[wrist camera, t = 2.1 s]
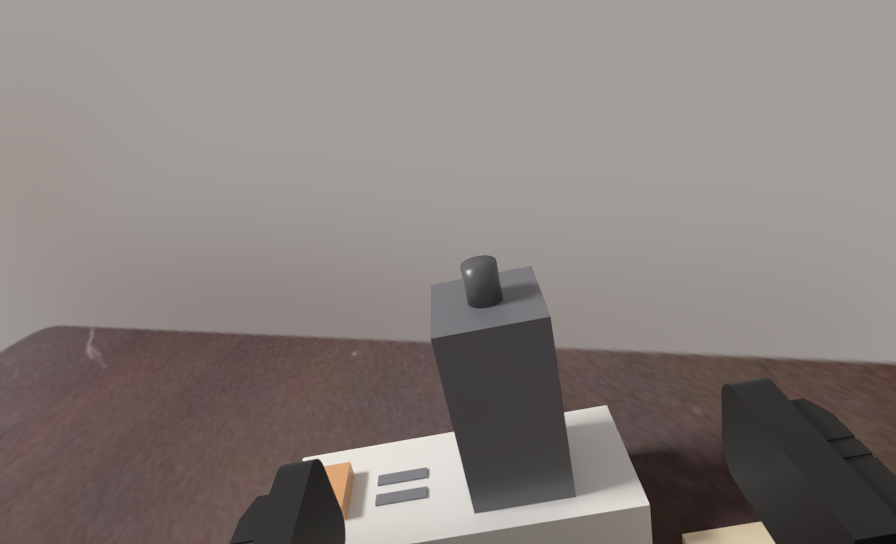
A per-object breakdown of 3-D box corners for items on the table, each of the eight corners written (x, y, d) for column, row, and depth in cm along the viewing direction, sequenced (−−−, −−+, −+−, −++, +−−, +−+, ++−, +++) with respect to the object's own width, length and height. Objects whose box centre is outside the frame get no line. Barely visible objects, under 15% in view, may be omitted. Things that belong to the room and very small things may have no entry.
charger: (482, 544, 25) (421, 300, 20) (475, 471, 29) (423, 252, 24) (580, 529, 25) (544, 277, 20) (560, 457, 29) (526, 232, 24)
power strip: (171, 638, 26) (130, 575, 24) (218, 522, 32) (189, 465, 30) (653, 562, 25) (648, 490, 23) (611, 456, 30) (605, 392, 29)
